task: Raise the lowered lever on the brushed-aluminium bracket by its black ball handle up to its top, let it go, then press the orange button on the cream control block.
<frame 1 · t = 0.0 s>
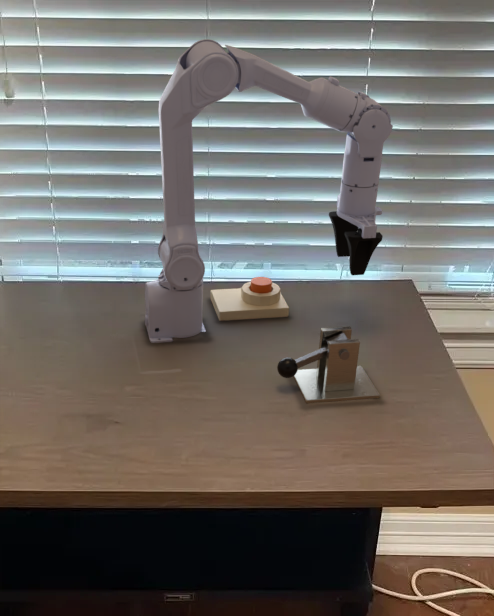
hand: (350, 264, 150), 10 cm above the table, tool pointing down, fingers open, 7 cm apart
lever: (312, 357, 134), point 5 cm above the table, hinge at -22.0°
control block: (248, 307, 160), on the table
button: (261, 285, 158), point 4 cm above the table, slide at 0.1 cm
bracket: (334, 388, 137), on the table
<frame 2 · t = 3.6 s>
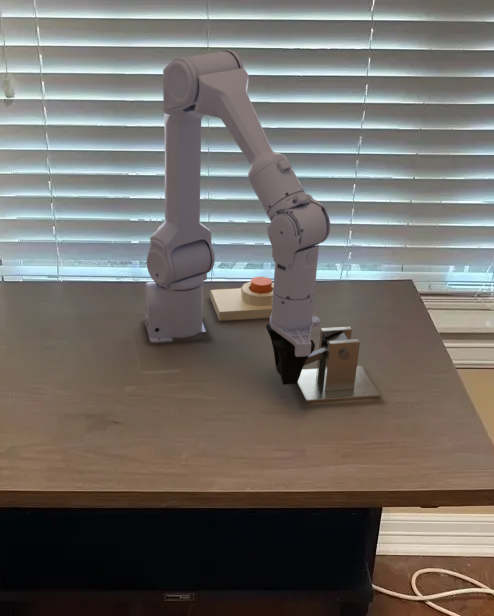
hand: (286, 377, 135), 2 cm above the table, tool pointing down, fingers closed on lever, 3 cm apart
lever: (312, 357, 134), point 5 cm above the table, hinge at -22.0°, touching gripper
everything else where it was.
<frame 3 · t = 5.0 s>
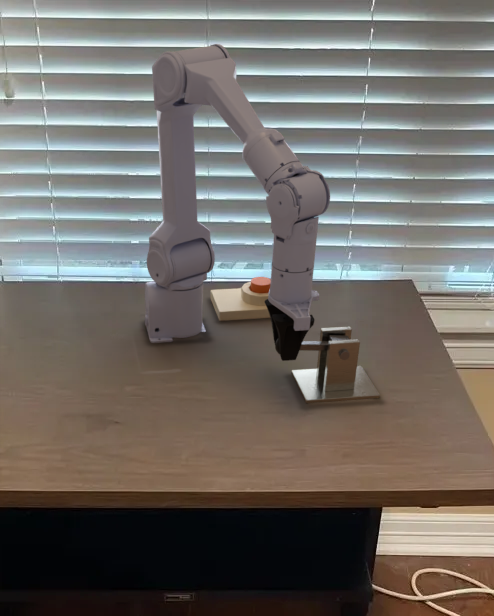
hand: (285, 353, 133), 6 cm above the table, tool pointing down, fingers closed on lever, 3 cm apart
lever: (312, 345, 133), point 7 cm above the table, hinge at 4.6°, touching gripper
everything else where it was.
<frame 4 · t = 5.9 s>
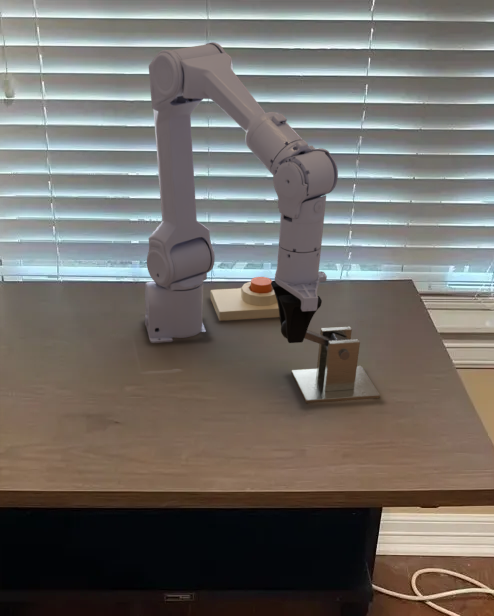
hand: (292, 336, 131), 9 cm above the table, tool pointing down, fingers closed on lever, 3 cm apart
lever: (315, 337, 132), point 9 cm above the table, hinge at 23.9°, touching gripper
everything else where it was.
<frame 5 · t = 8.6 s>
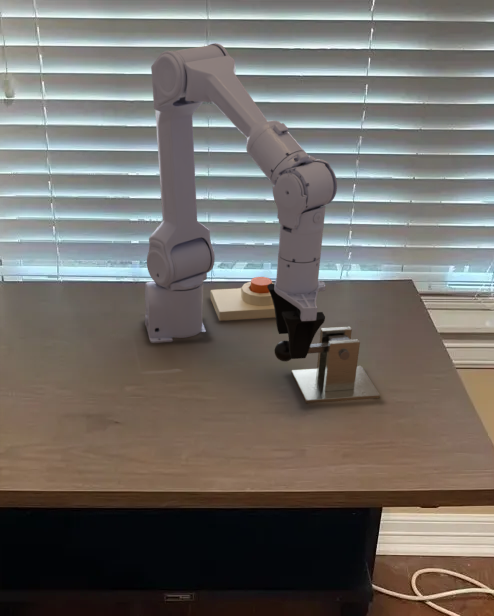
hand: (291, 344, 132), 8 cm above the table, tool pointing down, fingers open, 7 cm apart
lever: (311, 348, 133), point 7 cm above the table, hinge at -1.5°
everything else where it was.
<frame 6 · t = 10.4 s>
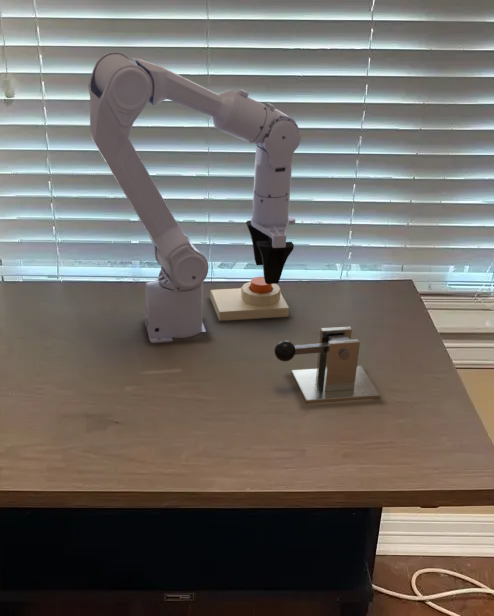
hand: (266, 273, 152), 8 cm above the table, tool pointing down, fingers open, 7 cm apart
nothing on the table moved.
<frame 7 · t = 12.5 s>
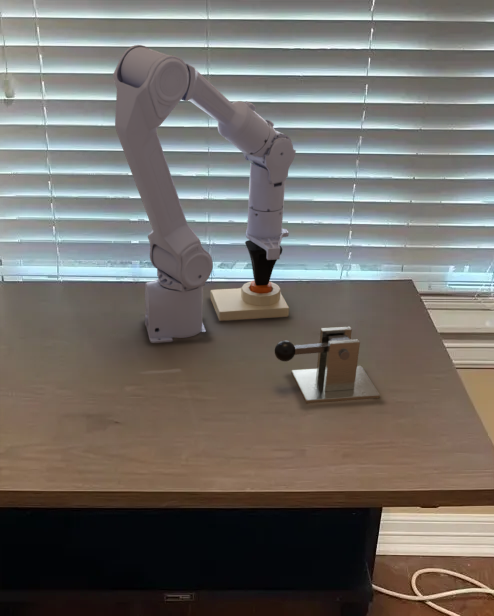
hand: (261, 283, 158), 4 cm above the table, tool pointing down, fingers closed, pressing on button
button: (261, 288, 158), point 3 cm above the table, slide at -0.4 cm, touching gripper
everything else where it was.
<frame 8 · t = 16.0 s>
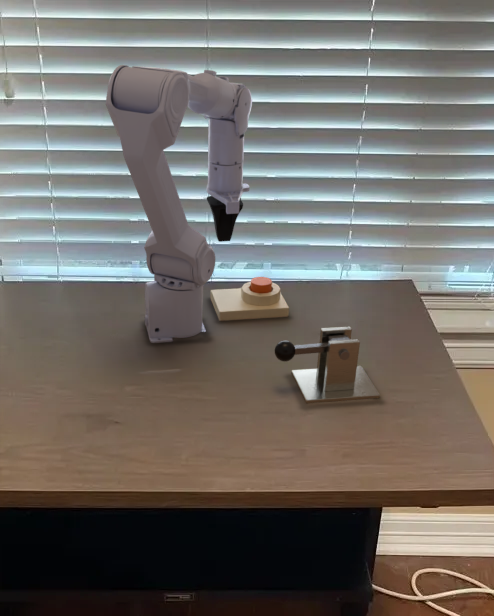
hand: (223, 239, 158), 10 cm above the table, tool pointing down, fingers closed
button: (261, 285, 158), point 4 cm above the table, slide at 0.1 cm
everything else where it was.
at the end: lever reached +24° during the clip, -2° at the end; button pushed in 1.2 cm at the most during the clip, back to where it started at the end; button slide at 0.1 cm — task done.
